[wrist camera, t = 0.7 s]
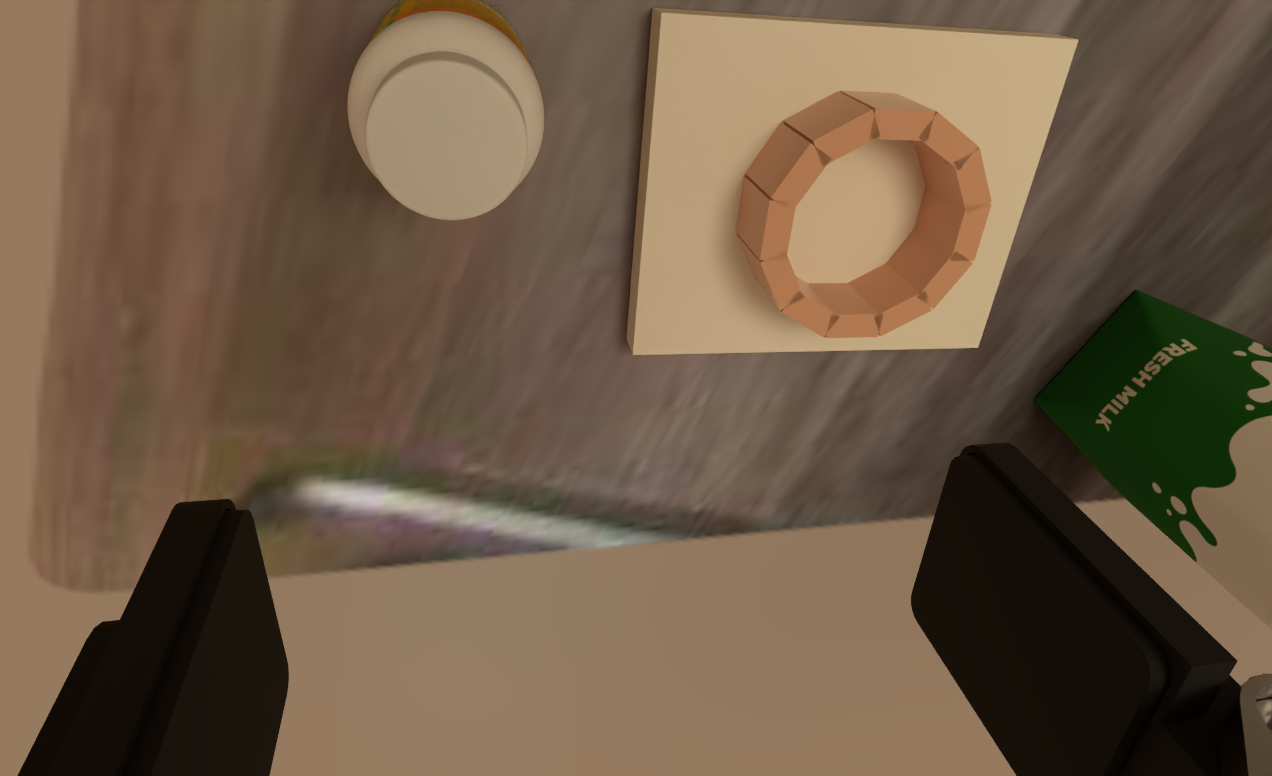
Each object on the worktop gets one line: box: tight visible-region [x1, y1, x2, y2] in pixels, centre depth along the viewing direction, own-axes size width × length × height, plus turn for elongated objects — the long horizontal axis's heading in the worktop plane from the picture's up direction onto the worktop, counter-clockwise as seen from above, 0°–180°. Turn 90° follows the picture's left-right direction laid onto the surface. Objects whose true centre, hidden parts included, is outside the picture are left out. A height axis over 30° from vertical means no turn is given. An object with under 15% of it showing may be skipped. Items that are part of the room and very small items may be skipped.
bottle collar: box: [736, 91, 992, 338], centre depth 31 cm, size 9×9×3 cm
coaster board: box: [626, 8, 1078, 355], centre depth 33 cm, size 13×16×2 cm
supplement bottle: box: [347, 0, 544, 220], centre depth 24 cm, size 5×5×10 cm
